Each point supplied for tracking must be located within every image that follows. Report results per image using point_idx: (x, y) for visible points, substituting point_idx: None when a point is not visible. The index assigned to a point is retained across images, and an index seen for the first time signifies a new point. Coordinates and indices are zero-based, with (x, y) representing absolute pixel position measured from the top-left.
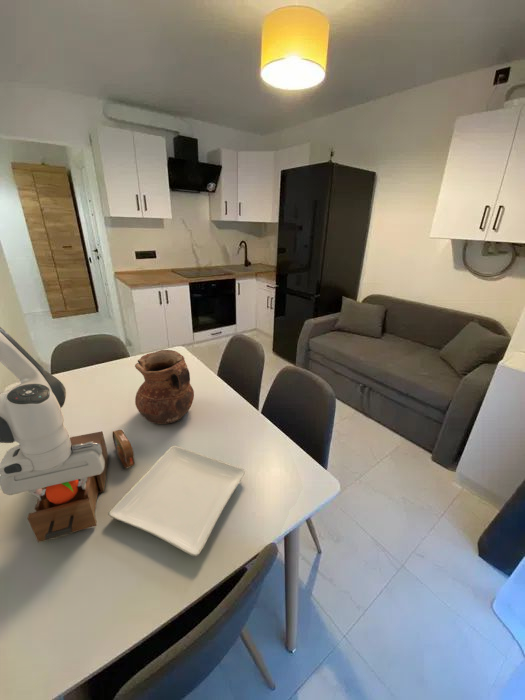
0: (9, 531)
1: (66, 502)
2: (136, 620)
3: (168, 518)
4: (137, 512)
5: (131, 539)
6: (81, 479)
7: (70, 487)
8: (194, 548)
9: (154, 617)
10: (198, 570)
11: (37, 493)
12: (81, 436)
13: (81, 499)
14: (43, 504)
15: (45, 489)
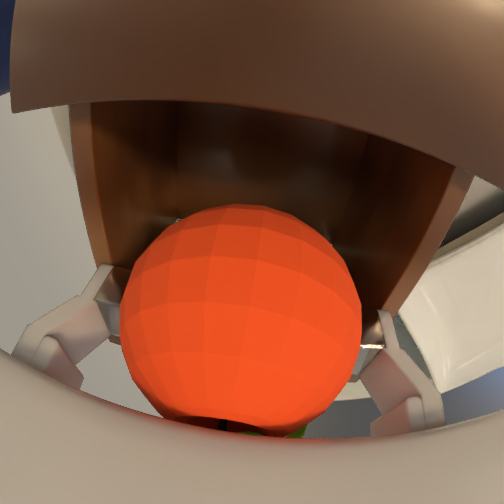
0: (69, 142)
1: (238, 119)
2: (339, 393)
3: (469, 320)
4: (444, 281)
5: (394, 320)
6: (376, 431)
7: (299, 431)
8: (447, 377)
9: (358, 395)
10: (429, 378)
11: (90, 347)
12: None
13: (310, 136)
14: (135, 242)
15: (115, 307)
